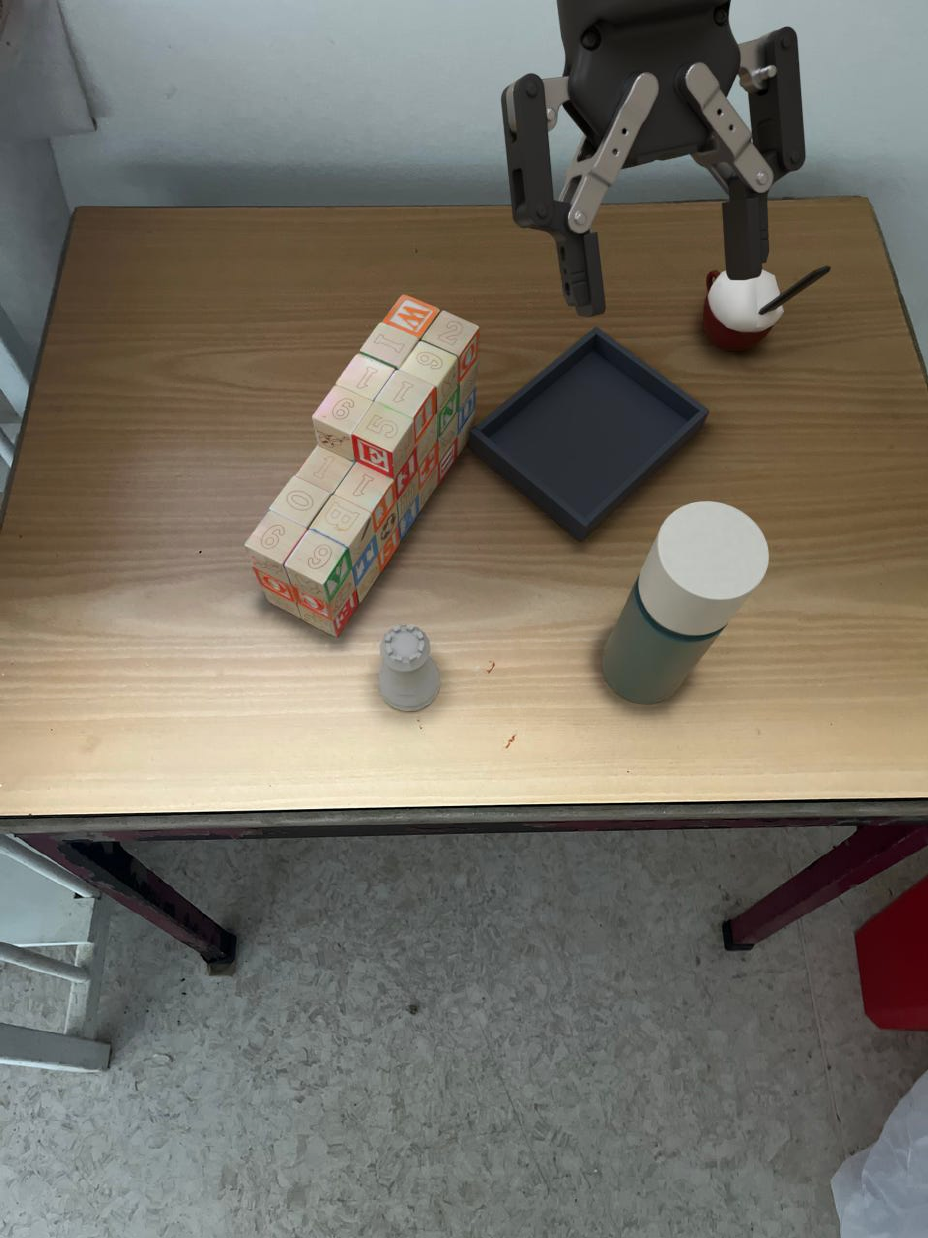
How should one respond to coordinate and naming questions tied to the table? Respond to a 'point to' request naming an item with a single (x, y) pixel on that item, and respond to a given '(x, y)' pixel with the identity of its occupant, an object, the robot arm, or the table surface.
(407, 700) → the rook chess piece
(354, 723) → the table surface
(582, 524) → the tray
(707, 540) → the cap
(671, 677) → the green metal cylinder
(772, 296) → the cocoa
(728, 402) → the table surface
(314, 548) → the stack of blocks
